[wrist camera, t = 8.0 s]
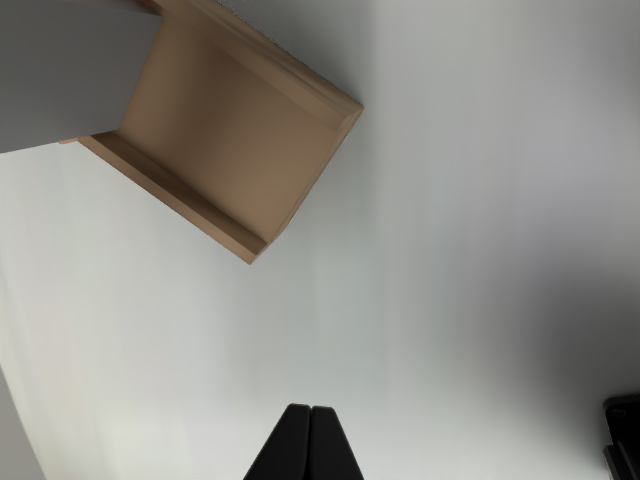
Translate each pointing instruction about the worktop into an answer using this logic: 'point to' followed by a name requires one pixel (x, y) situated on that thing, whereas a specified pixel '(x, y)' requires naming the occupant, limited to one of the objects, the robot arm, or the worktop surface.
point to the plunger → (69, 67)
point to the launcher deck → (226, 126)
